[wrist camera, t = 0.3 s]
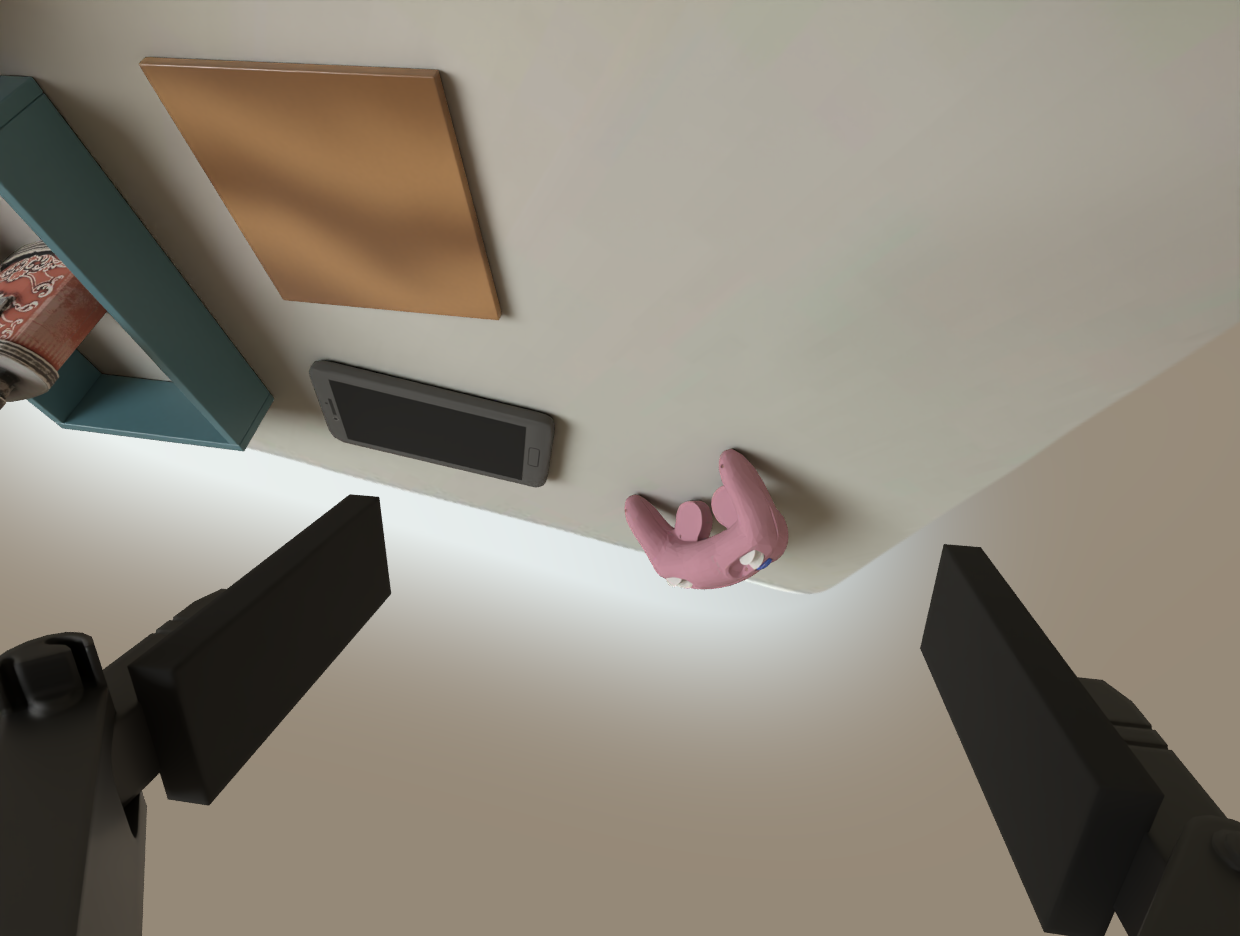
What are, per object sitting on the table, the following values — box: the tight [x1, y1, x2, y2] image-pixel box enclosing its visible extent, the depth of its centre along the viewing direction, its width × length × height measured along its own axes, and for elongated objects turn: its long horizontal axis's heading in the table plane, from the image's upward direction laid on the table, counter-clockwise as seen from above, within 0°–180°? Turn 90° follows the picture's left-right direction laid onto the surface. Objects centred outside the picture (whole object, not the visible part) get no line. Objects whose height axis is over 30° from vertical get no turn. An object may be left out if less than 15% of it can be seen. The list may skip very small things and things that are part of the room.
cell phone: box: [309, 360, 555, 487], centre depth 40 cm, size 7×14×1 cm, turn 81°
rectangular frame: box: [0, 76, 274, 451], centre depth 33 cm, size 19×12×4 cm, turn 3°
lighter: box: [0, 240, 107, 410], centre depth 31 cm, size 8×3×10 cm, turn 107°
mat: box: [139, 57, 502, 320], centre depth 27 cm, size 11×11×1 cm
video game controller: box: [625, 449, 788, 589], centre depth 40 cm, size 10×5×7 cm, turn 141°
